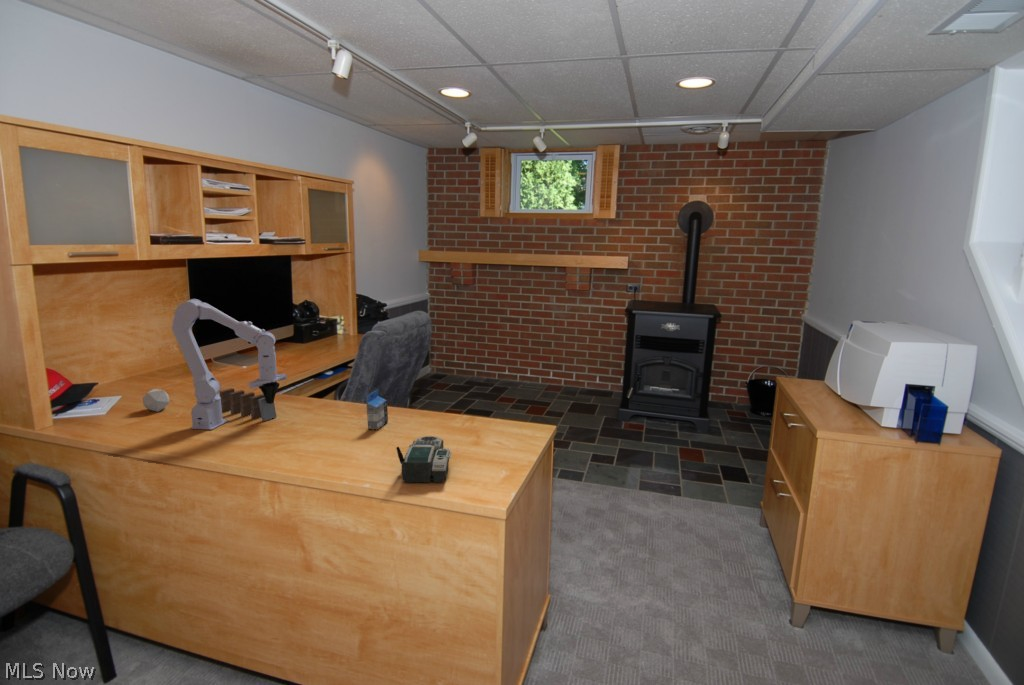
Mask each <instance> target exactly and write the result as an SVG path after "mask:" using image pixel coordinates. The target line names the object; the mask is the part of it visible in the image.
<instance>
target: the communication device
mask: <svg viewBox="0 0 1024 685" xmlns="http://www.w3.org/2000/svg"><path fill="white" fill-rule="evenodd" d="M396 451H397V452H396V453H397V456H398V460H399V462H400V464H401V476H402V482H404V483H430V482H431V481H432V482H433V483H444V482H445V481H446V480H447V478H448V477H447V476H448V472H449V471H448V470H449V461H450V459H451V457H452V451H450V449H449V448H444V440H443V439H442V438H441V437H439V436H435V435H434V436H432V435H428V436H427V435H425V436H420V437H417V438H416V439H415V440H413V442H412V443H411V444H409V445H408V448H407V450H406V452H405V455H404V456H403V453H402V451H401V448H400V447H399V446H397V447H396Z"/></svg>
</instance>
